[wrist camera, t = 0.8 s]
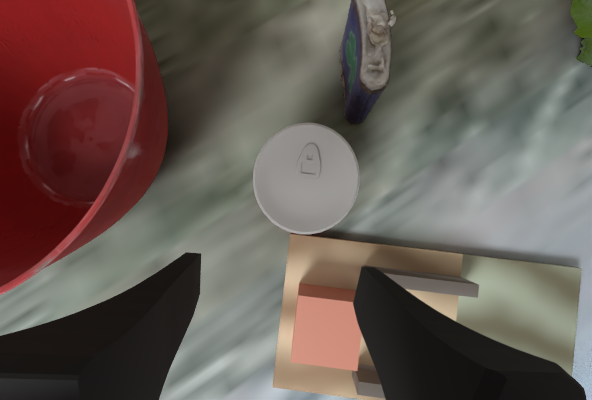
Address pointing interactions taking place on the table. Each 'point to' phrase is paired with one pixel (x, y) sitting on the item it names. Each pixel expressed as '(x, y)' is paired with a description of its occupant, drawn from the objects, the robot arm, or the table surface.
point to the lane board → (432, 303)
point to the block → (326, 328)
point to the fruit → (583, 27)
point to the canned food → (306, 178)
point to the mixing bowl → (73, 126)
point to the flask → (365, 56)
